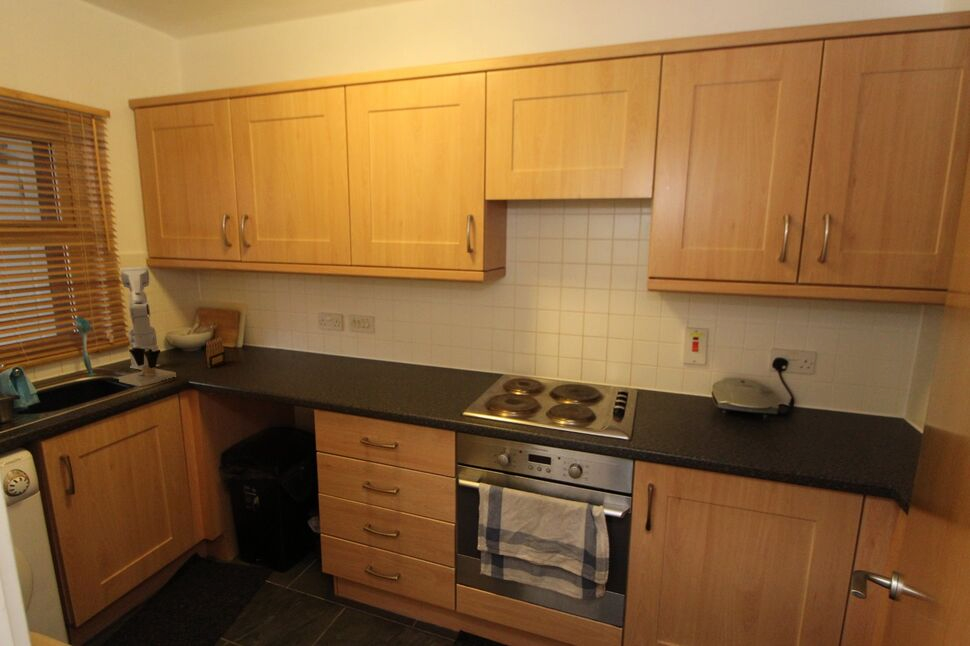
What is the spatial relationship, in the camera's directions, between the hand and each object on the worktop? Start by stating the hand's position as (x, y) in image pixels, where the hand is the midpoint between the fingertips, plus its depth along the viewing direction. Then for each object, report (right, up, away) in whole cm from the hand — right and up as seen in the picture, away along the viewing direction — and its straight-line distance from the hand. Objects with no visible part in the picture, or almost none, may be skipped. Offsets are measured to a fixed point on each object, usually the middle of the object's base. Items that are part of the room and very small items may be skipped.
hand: (146, 366), depth 201 cm
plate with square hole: (0, -5, +1) cm, 5 cm away
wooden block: (0, -5, +1) cm, 6 cm away
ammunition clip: (+16, -2, +23) cm, 28 cm away
